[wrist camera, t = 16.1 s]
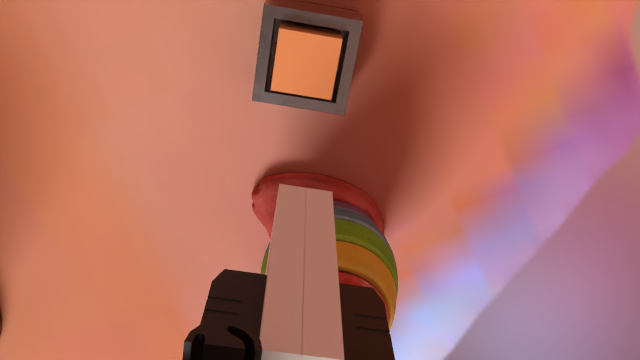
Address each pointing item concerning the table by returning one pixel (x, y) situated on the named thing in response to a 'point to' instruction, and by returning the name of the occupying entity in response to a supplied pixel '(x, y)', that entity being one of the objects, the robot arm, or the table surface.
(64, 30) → the table surface
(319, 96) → the button
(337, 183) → the stacking bear
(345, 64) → the button housing
